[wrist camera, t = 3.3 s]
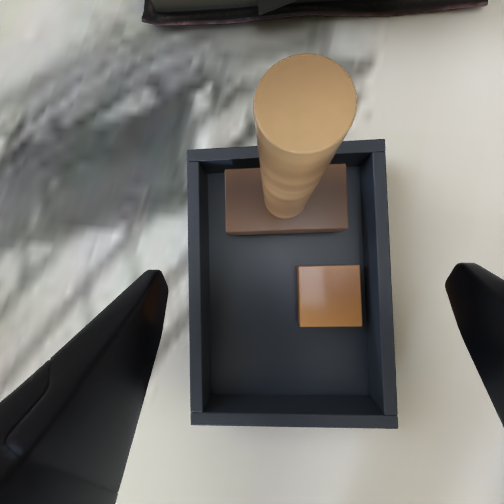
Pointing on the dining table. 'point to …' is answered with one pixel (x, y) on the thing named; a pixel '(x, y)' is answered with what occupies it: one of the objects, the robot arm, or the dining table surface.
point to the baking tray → (288, 307)
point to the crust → (329, 296)
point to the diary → (284, 9)
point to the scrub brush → (295, 152)
